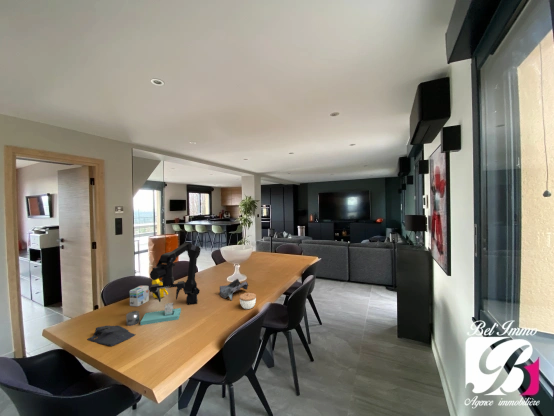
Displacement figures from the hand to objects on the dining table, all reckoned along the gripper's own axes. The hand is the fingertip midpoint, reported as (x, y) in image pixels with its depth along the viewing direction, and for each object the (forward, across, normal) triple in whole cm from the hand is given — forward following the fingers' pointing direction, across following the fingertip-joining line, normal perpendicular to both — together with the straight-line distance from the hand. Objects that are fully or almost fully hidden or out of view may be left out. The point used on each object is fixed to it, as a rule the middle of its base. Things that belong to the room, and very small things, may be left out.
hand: (168, 300), depth 137 cm
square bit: (+11, 0, 0) cm, 11 cm away
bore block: (+10, +4, 0) cm, 11 cm away
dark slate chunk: (+11, +25, +13) cm, 30 cm away
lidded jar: (+11, -48, +3) cm, 49 cm away
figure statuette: (+11, +13, -37) cm, 41 cm away
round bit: (+11, +19, +1) cm, 22 cm away
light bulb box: (+11, +24, -30) cm, 40 cm away
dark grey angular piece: (+11, -42, -23) cm, 49 cm away
